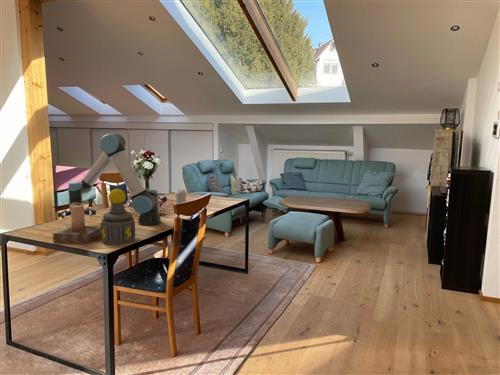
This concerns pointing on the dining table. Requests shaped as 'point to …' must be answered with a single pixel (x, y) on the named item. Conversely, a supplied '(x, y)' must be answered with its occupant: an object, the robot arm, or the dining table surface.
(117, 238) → the decorative lamp
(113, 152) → the robot arm
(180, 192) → the coffee cup
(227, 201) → the dining table surface
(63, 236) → the walnut plinth
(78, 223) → the terracotta canister
